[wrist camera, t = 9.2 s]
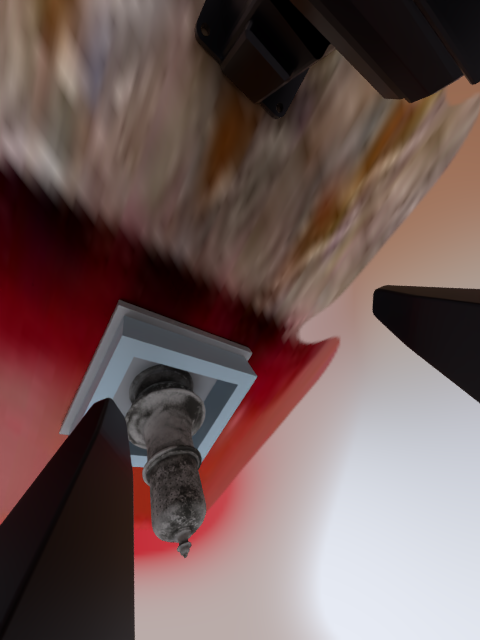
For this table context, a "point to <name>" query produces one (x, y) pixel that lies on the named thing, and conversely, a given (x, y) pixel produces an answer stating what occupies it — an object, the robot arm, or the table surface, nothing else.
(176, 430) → the grey stone tall figure
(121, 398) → the holder
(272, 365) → the table surface
